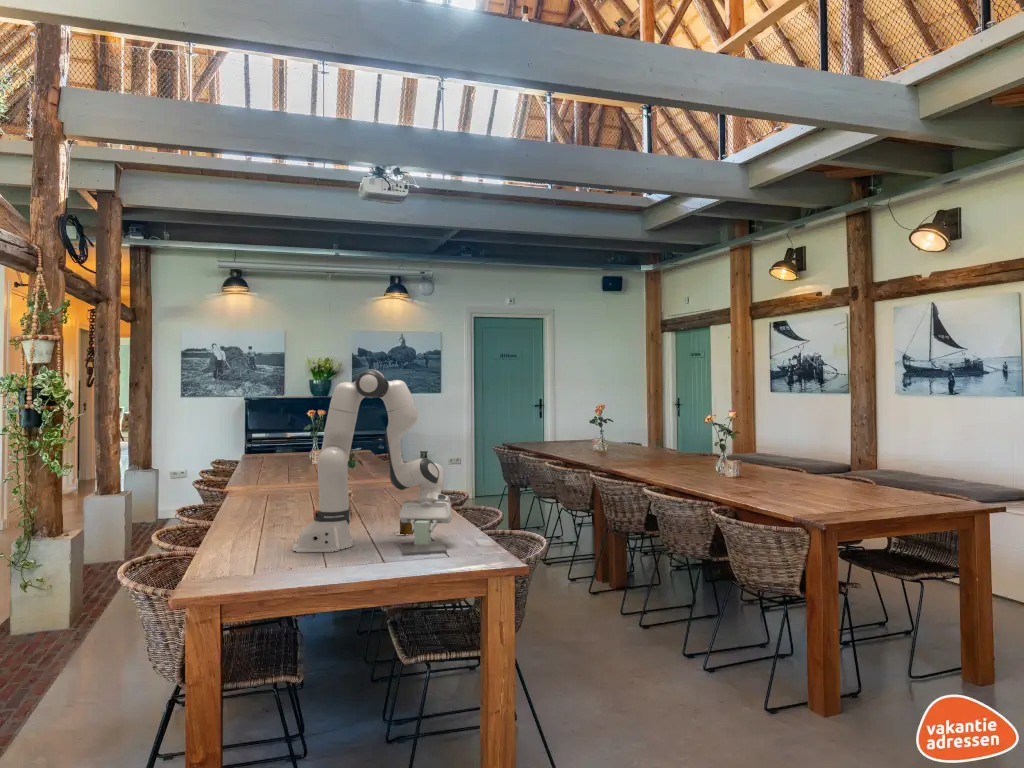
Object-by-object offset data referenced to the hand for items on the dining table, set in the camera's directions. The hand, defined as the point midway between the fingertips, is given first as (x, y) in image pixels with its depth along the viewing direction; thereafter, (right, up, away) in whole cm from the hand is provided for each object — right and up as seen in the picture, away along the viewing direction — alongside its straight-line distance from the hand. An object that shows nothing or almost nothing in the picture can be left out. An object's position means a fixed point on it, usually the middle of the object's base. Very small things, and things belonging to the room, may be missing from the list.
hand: (422, 531), depth 260 cm
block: (0, -4, +1) cm, 4 cm away
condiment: (-11, -7, +28) cm, 31 cm away
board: (0, -7, +1) cm, 7 cm away
